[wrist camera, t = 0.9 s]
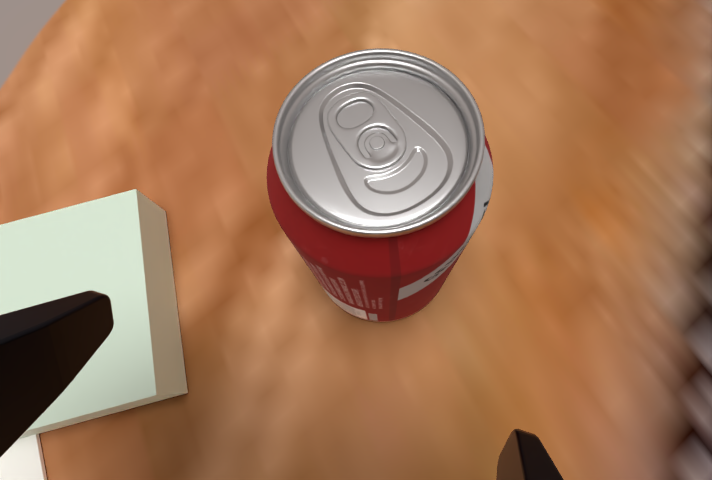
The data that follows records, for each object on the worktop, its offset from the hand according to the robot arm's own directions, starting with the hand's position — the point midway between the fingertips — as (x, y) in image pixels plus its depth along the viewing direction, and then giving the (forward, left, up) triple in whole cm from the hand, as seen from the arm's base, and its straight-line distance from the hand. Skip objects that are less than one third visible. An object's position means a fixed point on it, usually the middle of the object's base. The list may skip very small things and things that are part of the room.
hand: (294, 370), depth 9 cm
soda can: (+5, -3, -12) cm, 14 cm away
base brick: (+6, +13, -12) cm, 19 cm away
